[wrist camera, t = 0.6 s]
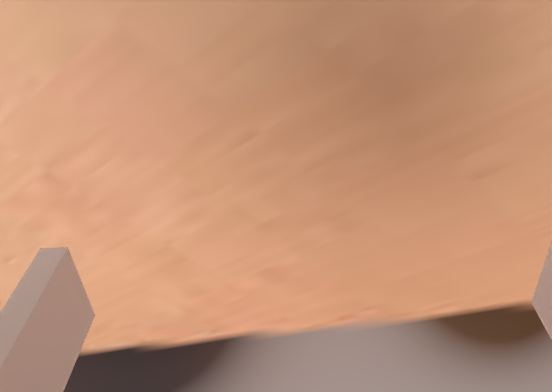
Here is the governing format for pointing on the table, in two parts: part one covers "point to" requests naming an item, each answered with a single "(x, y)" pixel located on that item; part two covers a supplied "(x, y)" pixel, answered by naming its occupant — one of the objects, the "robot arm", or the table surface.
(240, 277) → the table surface
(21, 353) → the robot arm
